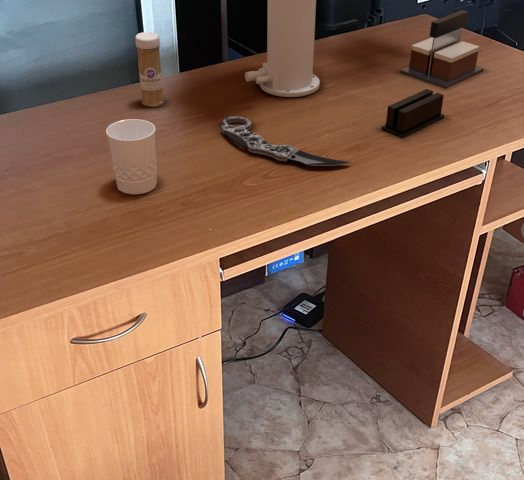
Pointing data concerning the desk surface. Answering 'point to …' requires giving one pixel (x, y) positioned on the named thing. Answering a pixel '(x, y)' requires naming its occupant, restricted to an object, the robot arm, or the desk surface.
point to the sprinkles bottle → (150, 68)
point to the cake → (443, 63)
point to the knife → (270, 145)
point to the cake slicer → (446, 32)
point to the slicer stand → (414, 113)
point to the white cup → (133, 155)
